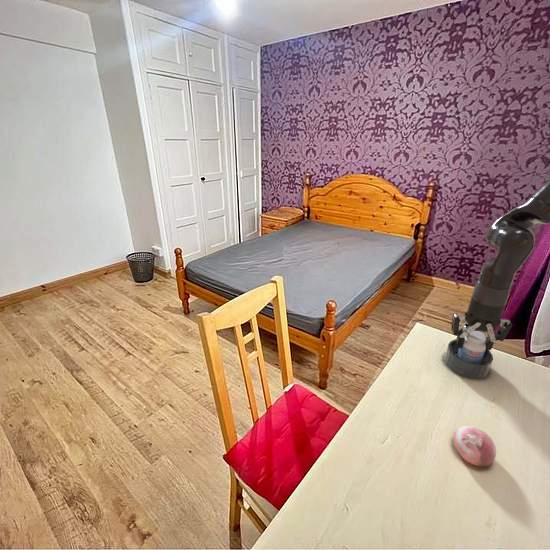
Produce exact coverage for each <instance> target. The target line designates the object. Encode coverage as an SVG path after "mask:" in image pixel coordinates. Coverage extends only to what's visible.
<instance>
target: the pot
mask: <svg viewBox="0 0 550 550" xmlns="http://www.w3.org/2000/svg"><path fill="white" fill-rule="evenodd" d="M456 339H457V338H455V339H452V340H451V341H449V343H448V344H447V347H446V351H445V354H444V363H445V365H446V366H447V367H448V368H449V369H450V370H451V372H454V373H455V374H457V375H459V376H461V377H464V378H467V379H471V380H472V379H473V380H479V379H484V378H486V377H487V376H488V374H489V371H490V369H491V366H492V365H493V361H494V357H493V356H494V355H493V353H492V352H491V350H489V352H486V351H485V352H484V355H483V358H482V360H481V363H480V364H474V363H470V362H467V361H465V360H463V359H461V358H459V357H458V356H457V353H458V350H459V347H458V346H457V344H456Z"/></svg>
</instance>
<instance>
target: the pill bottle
mask: <svg viewBox="0 0 550 550" xmlns="http://www.w3.org/2000/svg"><path fill="white" fill-rule="evenodd" d="M486 337H487V335H485V333H484V332H482V331H473V332H471V333H470V334H467V335H466V336H465V337H464V338H465V340H464V343H463V346H462V348H459V350H458V353H456V356H458V357H459V358H461V359H463V360H465V361H467V362H470V363H474V364H482V363H481V360H482V358H483V355H484V352H485V350H486V344H485V341H486Z"/></svg>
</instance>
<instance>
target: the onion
mask: <svg viewBox="0 0 550 550" xmlns="http://www.w3.org/2000/svg"><path fill="white" fill-rule="evenodd" d="M452 441H453V445H454V448H455V450H456V452H457V453H458V454H459V456H460V457H461V458H462V459H463V460H464V461H466V462H467V463H468V464H471V465H473V466H475V467H488V466H490V465H491V464H492V463H493V462H494V461H495V459H496V458H497V446H496V444H495V442H494V440H493V439H492V437H491V436H490V435H489V434H488V433H487V432H486V431H485V430H483V429H481V428H479V427H476V426H473V425H463V426H460V427H459V428H457V430H455V431H454V434H453V436H452Z"/></svg>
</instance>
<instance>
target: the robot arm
mask: <svg viewBox="0 0 550 550" xmlns="http://www.w3.org/2000/svg"><path fill="white" fill-rule="evenodd" d="M549 224H550V178H549V179H548V180H547V181H546V182H545V183H544V184H542V185H541V186H540V187H539V188H538V189H536V190H535V192H534V193H532V194H531V196H529V198H527V200H525V201H524V202H523V203H521V204H519V205H518V206H516V207H515V208H513V209H511V210H510V211H509V212H507V213H505V214H503V215H502V216H500V217H499V218H498V219H496V220H495V221H494V222H493V223H492V224H491V225H490V226H489V227H488V229H487V231H486V233H485V241H486V243H487V244H488V246H490V247H491V248H493V249H494V250H496V251H497V256H496V257H493V258H488V259H485V261H484V262H483V263H482V266H481V269H480V273H479V275H478V279H477V282H476V283H475V285H474V289H473V290H472V294H471V298H470V301H469V304H468V308H467V311H466V312H465V313H464V314H458V313H457V312H453V313H452V317H451V319H452V320H451V331H452V334H453V335H454V336H456V338H455V339H456V344H457V346H458V347H459V348H462V346H463V343H464V340H465V338H464V337H466V335H467V334H470V333H471V332H473V331H479V332H482V333H487V336H486V341H485V344H486V350H485V351H486V352H489V351H491V350H492V349H493V346H494V344H495V342H497V341H499V342H504V341H505V339H506V337H507V336H508V334H509V333H510V331H511V329H512V327H513V324H512V322H511V320H510V319H509V318H504V319H502V316H503V313H504V310H505V307H506V305H507V302H508V301H509V296H510V292H511V288H512V285H513V282H514V280H515V277H516V274H517V272H518V271H519V270H520V269H521V268H522V266H523V265H524V264H525V262H526V261H527V259H528V258H529V257H530V256H531V254H532V253H533V251H534V249H535V244H536V237H535V235H534V233H533V232H532V231H531V230H529V229H530V228H531V227H532V226H535V225H549ZM463 321H465V322H464V323H463V324H462V322H463ZM460 324H462V326H461V327H460ZM497 326H499V327H498V329H497V330H496V333H495V331H494V328H496V327H497Z"/></svg>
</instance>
